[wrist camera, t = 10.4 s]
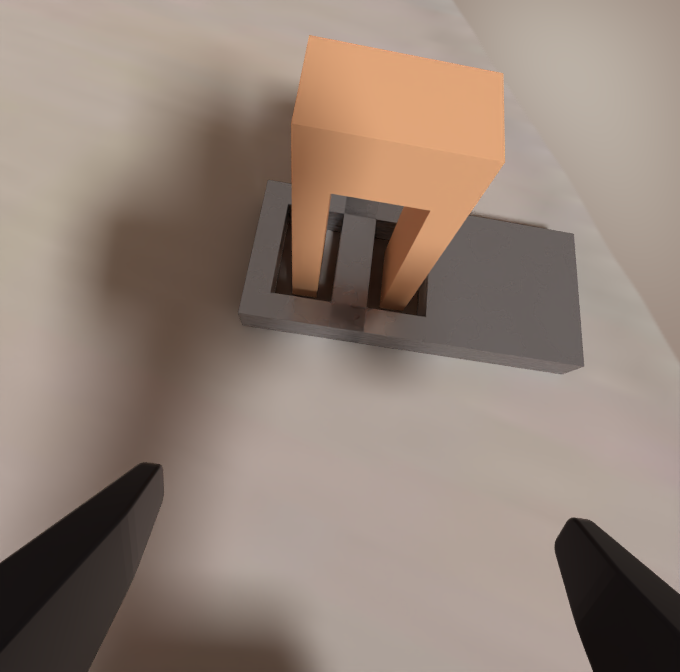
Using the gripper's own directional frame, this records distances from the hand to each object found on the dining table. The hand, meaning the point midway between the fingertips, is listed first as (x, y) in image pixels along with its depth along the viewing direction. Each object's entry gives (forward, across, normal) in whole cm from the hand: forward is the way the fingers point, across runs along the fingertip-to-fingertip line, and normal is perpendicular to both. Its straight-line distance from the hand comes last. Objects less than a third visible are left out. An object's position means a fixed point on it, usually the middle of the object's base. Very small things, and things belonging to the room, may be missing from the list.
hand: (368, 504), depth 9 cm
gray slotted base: (+19, -4, +1) cm, 19 cm away
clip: (+19, 0, +1) cm, 19 cm away
